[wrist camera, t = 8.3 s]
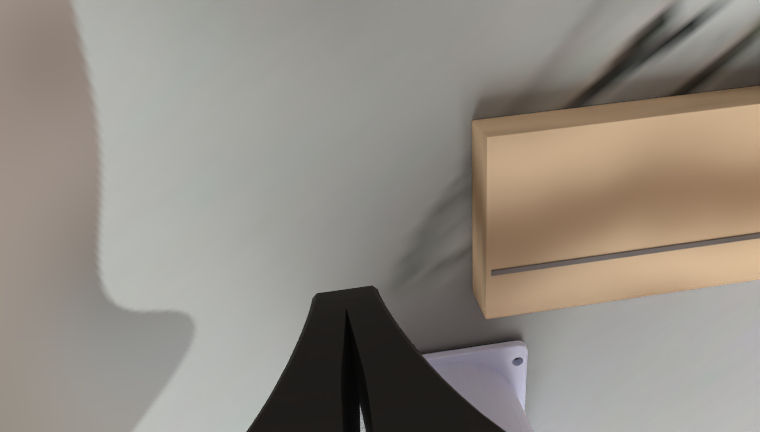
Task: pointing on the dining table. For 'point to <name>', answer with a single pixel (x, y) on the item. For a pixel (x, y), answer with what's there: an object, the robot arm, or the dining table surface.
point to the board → (615, 201)
